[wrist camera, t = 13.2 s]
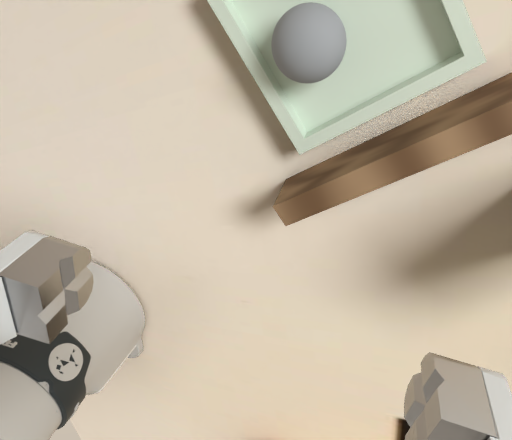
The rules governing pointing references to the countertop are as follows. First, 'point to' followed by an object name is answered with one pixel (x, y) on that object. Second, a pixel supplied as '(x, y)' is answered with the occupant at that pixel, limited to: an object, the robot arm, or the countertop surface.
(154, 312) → the countertop surface
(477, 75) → the countertop surface
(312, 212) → the rail
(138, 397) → the countertop surface
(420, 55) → the dish
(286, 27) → the ball
